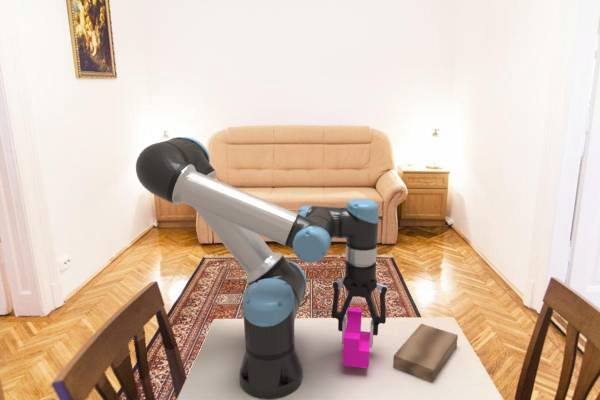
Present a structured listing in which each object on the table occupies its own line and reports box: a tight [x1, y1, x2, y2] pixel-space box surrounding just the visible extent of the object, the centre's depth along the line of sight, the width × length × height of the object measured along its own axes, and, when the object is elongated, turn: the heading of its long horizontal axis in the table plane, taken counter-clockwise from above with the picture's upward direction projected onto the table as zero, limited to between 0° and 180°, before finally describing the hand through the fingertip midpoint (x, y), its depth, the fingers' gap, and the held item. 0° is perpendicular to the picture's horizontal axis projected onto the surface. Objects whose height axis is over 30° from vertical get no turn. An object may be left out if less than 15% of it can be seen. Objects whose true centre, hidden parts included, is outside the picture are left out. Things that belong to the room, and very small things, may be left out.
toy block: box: [341, 307, 371, 369], centre depth 112 cm, size 15×6×8 cm, turn 170°
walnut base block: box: [392, 323, 459, 384], centre depth 112 cm, size 10×18×4 cm, turn 144°
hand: (357, 343), depth 114 cm, fingers closed on toy block, 6 cm apart
